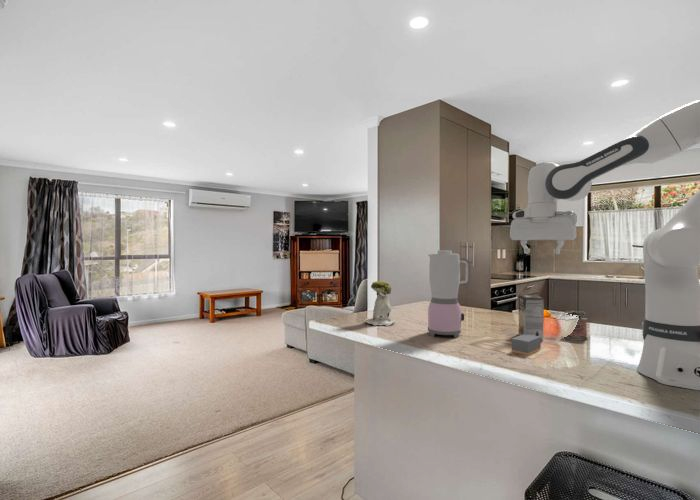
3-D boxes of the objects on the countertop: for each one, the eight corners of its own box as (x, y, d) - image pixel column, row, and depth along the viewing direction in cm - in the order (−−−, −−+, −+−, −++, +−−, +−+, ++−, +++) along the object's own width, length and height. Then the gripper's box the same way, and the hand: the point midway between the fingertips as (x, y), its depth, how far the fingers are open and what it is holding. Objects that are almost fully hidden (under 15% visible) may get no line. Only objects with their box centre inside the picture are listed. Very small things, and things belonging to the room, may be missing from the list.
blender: (428, 337, 136) (428, 250, 136) (426, 330, 148) (426, 250, 148) (472, 339, 134) (473, 250, 133) (467, 331, 146) (467, 250, 145)
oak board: (551, 354, 116) (552, 349, 116) (533, 364, 106) (533, 358, 106) (485, 340, 132) (485, 336, 132) (464, 348, 123) (464, 343, 123)
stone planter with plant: (364, 320, 167) (364, 279, 167) (393, 320, 167) (393, 279, 167) (365, 326, 155) (365, 282, 155) (396, 326, 155) (396, 282, 155)
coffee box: (517, 337, 136) (518, 294, 136) (536, 338, 135) (536, 294, 135) (524, 344, 127) (524, 297, 127) (544, 345, 126) (544, 298, 126)
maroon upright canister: (563, 339, 134) (564, 311, 134) (560, 336, 138) (561, 309, 138) (588, 340, 132) (589, 312, 132) (585, 338, 136) (585, 310, 136)
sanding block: (540, 349, 116) (540, 336, 116) (528, 355, 110) (528, 341, 110) (524, 346, 119) (524, 333, 119) (511, 351, 113) (511, 338, 113)
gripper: (580, 211, 118) (579, 254, 119) (516, 214, 134) (515, 253, 134) (573, 209, 114) (572, 254, 114) (507, 213, 129) (507, 253, 130)
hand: (541, 253), depth 124 cm, fingers open, 8 cm apart
